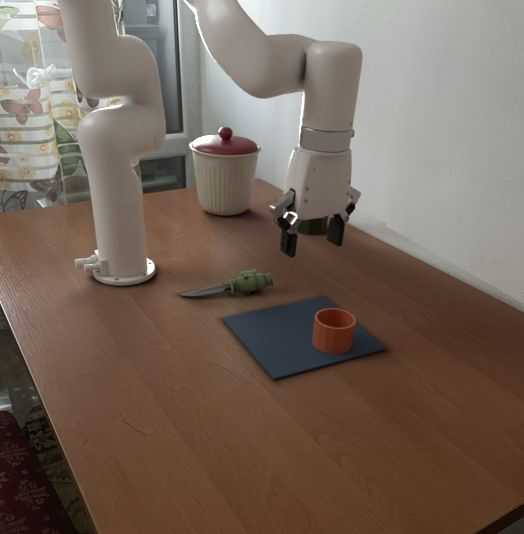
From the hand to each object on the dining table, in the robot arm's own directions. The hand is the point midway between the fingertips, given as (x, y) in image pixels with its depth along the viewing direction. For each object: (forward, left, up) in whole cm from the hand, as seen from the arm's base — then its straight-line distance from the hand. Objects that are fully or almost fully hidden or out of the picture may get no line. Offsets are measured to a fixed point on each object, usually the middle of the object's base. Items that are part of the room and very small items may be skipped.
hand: (311, 248), depth 89 cm
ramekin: (+2, -6, -15) cm, 17 cm away
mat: (-1, -1, -16) cm, 16 cm away
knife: (-7, +18, -16) cm, 25 cm away
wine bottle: (+27, +42, -16) cm, 53 cm away
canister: (+12, +62, -16) cm, 65 cm away
